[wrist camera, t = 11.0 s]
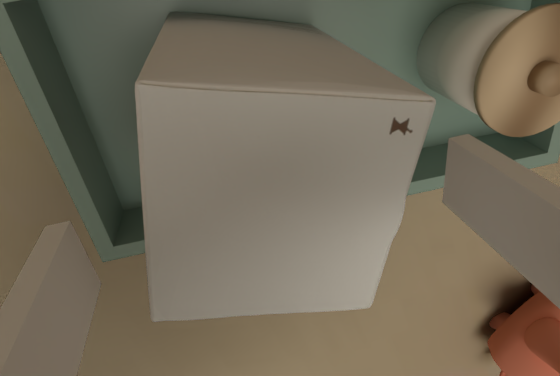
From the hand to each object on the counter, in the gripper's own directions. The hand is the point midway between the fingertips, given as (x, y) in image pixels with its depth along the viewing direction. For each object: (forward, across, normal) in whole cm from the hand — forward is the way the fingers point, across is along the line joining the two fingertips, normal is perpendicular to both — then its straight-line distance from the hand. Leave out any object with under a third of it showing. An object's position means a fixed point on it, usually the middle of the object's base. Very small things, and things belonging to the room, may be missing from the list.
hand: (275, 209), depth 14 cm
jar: (+14, +16, 0) cm, 21 cm away
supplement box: (+14, 0, 0) cm, 14 cm away
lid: (+7, +16, 0) cm, 17 cm away
